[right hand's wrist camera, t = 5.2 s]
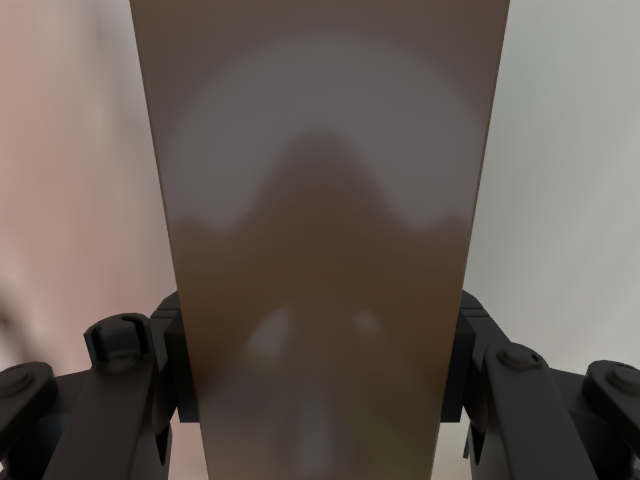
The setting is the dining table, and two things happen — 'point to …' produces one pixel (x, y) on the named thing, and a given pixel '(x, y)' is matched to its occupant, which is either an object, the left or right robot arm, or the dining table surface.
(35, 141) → the dining table surface
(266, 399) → the post
